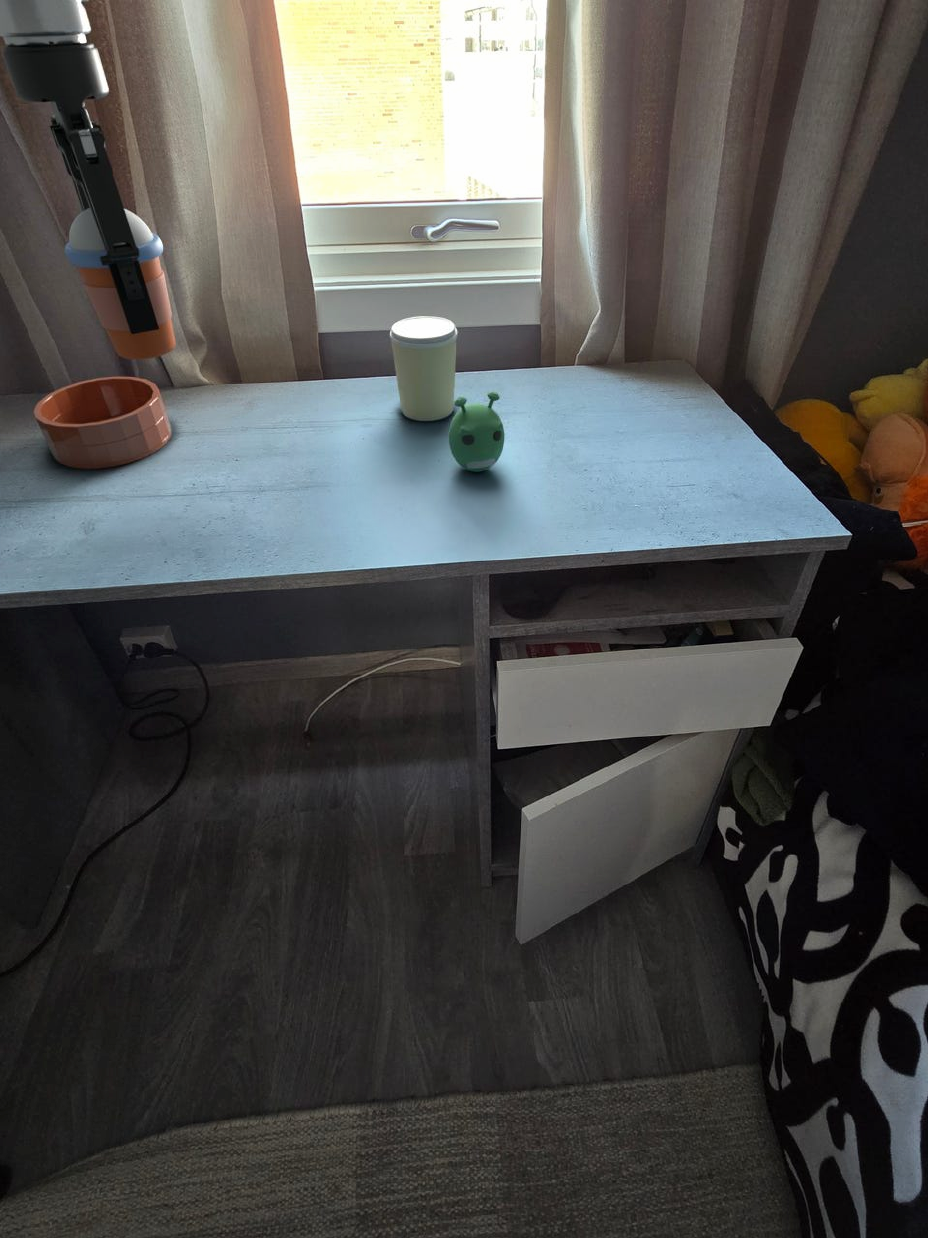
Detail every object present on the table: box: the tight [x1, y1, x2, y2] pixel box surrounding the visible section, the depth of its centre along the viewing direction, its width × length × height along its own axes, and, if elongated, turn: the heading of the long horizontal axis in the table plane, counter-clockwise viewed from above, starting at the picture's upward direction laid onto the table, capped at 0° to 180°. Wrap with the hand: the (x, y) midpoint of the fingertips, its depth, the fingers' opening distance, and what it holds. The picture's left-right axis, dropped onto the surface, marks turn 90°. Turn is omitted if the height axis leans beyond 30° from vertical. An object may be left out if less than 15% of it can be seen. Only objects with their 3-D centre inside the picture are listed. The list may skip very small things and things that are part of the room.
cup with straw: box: [64, 208, 177, 361], centre depth 69 cm, size 9×9×18 cm
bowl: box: [33, 376, 172, 470], centre depth 94 cm, size 16×16×6 cm
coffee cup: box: [389, 315, 458, 422], centre depth 98 cm, size 9×9×12 cm
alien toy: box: [448, 391, 505, 472], centre depth 86 cm, size 7×8×10 cm
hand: (135, 316), depth 73 cm, fingers closed on cup with straw, 9 cm apart
